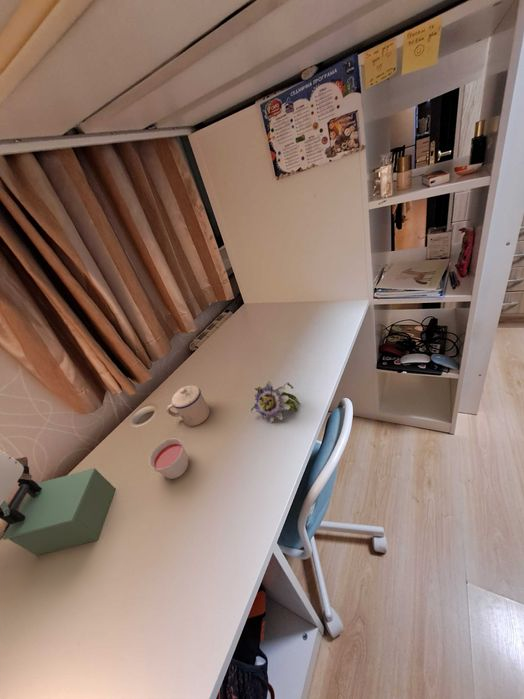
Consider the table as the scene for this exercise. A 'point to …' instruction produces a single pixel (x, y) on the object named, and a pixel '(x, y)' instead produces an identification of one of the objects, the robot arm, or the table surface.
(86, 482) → the lid
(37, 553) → the green box
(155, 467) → the candle
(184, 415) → the teacup with lid
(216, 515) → the table surface
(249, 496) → the table surface
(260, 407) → the passion flower
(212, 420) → the table surface
